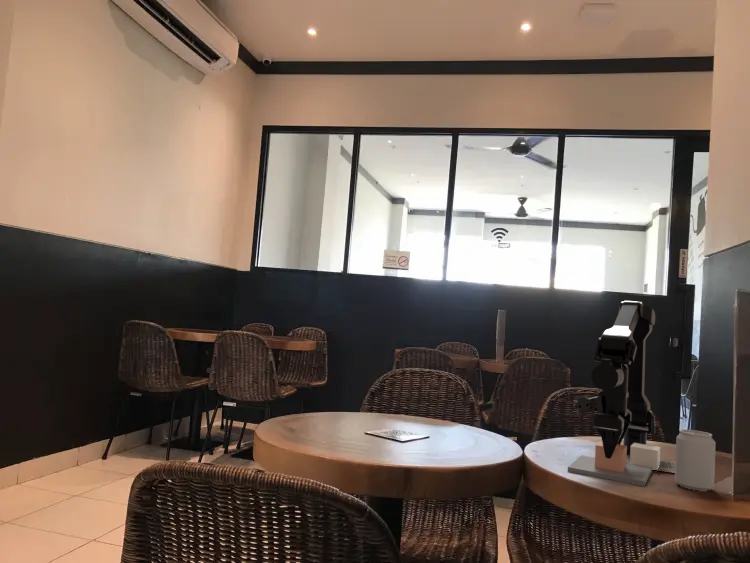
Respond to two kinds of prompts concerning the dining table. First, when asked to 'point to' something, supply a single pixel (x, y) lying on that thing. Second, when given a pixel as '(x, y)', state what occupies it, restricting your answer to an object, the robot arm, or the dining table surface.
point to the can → (695, 460)
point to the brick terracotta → (615, 461)
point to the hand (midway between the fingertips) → (611, 454)
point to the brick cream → (645, 455)
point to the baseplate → (611, 471)
